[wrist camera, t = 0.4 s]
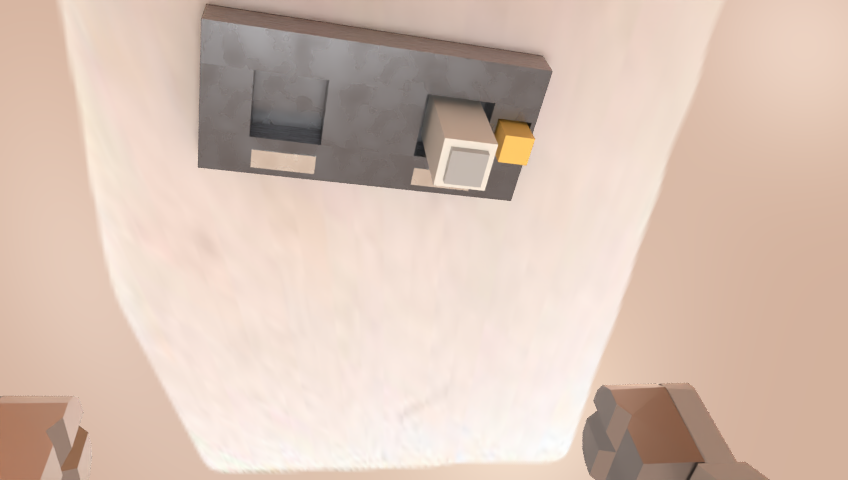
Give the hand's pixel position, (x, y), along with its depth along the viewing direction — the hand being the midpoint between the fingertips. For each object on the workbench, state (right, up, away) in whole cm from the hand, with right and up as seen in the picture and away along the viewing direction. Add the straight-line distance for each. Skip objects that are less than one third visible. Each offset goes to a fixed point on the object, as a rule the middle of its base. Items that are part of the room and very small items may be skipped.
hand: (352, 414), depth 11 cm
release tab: (+8, +12, +48) cm, 50 cm away
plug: (+3, +13, +48) cm, 49 cm away
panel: (-3, +14, +47) cm, 49 cm away
